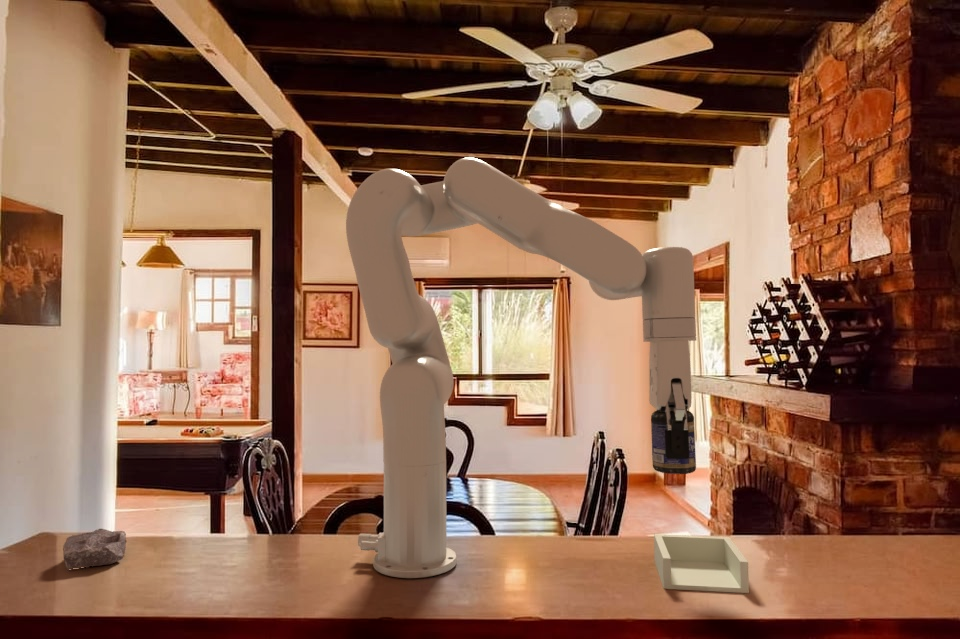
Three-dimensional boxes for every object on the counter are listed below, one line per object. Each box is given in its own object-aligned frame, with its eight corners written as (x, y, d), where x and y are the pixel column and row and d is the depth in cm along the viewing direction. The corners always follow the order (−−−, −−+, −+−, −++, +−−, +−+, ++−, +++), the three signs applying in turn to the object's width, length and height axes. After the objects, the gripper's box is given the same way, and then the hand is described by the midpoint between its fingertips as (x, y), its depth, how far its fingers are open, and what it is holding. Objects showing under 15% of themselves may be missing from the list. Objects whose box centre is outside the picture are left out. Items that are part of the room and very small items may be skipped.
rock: (131, 545, 107) (131, 518, 107) (122, 568, 97) (122, 537, 97) (75, 552, 104) (75, 524, 104) (59, 576, 94) (59, 545, 94)
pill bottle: (699, 475, 90) (696, 396, 90) (654, 474, 91) (651, 397, 91) (692, 466, 96) (690, 393, 96) (651, 466, 97) (648, 393, 97)
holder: (663, 588, 87) (663, 558, 87) (654, 561, 98) (654, 534, 98) (748, 593, 85) (748, 562, 85) (729, 564, 96) (729, 537, 96)
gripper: (637, 333, 103) (641, 444, 103) (650, 331, 86) (654, 465, 85) (685, 331, 102) (689, 444, 102) (707, 329, 85) (713, 465, 84)
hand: (673, 452), depth 94 cm, fingers closed on pill bottle, 6 cm apart
